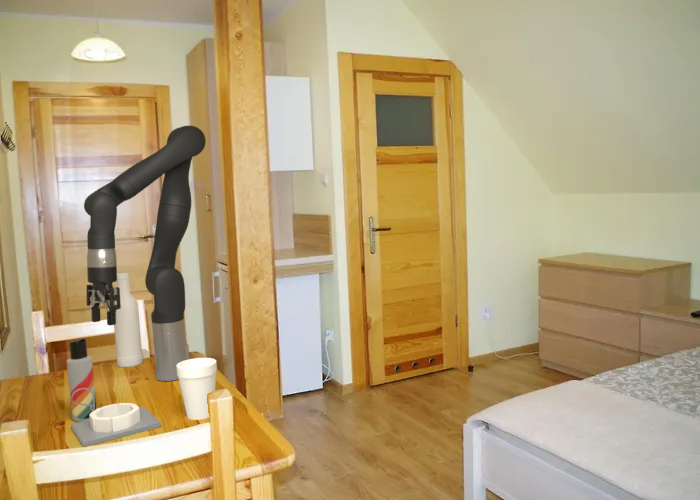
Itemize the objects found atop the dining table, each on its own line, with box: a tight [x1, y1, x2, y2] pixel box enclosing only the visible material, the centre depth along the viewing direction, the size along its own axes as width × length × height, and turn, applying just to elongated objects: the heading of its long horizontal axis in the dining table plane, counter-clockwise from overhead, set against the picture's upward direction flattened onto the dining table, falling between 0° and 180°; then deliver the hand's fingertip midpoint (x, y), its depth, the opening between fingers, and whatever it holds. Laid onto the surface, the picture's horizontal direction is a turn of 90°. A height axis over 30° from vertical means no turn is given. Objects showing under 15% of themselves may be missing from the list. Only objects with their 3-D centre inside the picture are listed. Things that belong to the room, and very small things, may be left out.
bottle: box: [113, 271, 144, 368], centre depth 194 cm, size 8×8×30 cm
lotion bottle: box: [66, 337, 98, 423], centre depth 148 cm, size 6×6×20 cm
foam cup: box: [176, 357, 218, 421], centre depth 146 cm, size 10×9×13 cm
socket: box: [70, 402, 162, 448], centre depth 141 cm, size 17×14×4 cm
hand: (103, 323), depth 166 cm, fingers open, 8 cm apart
